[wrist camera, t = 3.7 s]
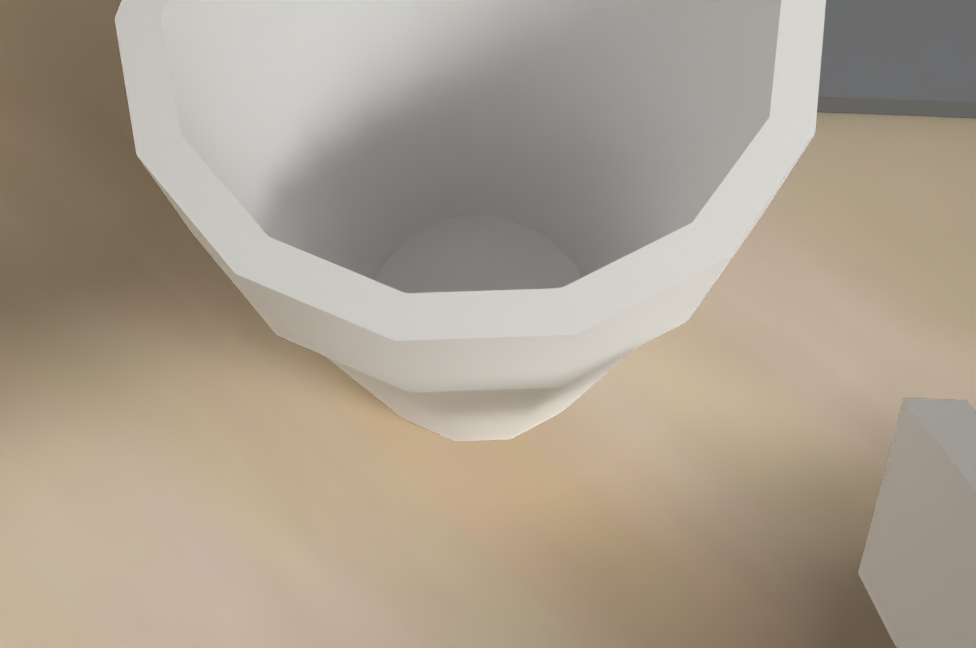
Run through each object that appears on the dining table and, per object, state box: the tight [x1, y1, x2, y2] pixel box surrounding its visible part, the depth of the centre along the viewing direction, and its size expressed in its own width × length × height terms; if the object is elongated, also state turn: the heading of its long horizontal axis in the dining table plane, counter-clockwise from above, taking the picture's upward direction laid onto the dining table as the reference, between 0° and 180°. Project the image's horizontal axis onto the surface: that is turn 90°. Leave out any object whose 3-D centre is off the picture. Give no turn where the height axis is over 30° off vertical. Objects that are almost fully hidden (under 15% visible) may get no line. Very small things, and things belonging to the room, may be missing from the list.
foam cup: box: [115, 0, 826, 441], centre depth 18 cm, size 10×9×13 cm
